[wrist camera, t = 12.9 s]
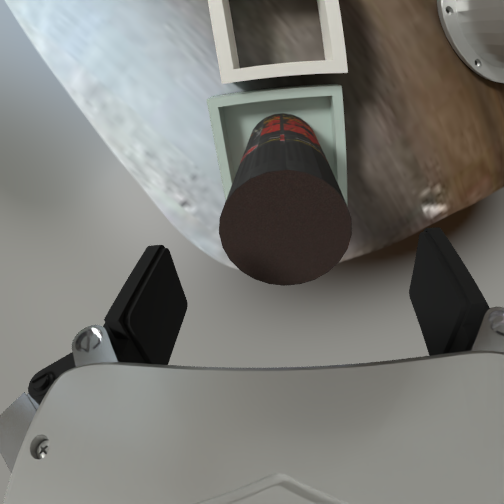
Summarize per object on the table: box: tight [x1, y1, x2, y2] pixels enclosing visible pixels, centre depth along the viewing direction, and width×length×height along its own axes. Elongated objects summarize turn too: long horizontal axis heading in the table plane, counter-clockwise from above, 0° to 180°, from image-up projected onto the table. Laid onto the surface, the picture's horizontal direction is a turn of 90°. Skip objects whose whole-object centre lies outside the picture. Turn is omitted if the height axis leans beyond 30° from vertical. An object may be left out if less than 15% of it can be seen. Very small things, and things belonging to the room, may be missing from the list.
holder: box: [208, 0, 348, 84], centre depth 19 cm, size 9×9×4 cm
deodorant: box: [219, 113, 352, 285], centre depth 20 cm, size 6×6×15 cm
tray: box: [207, 84, 347, 204], centre depth 26 cm, size 11×11×2 cm
